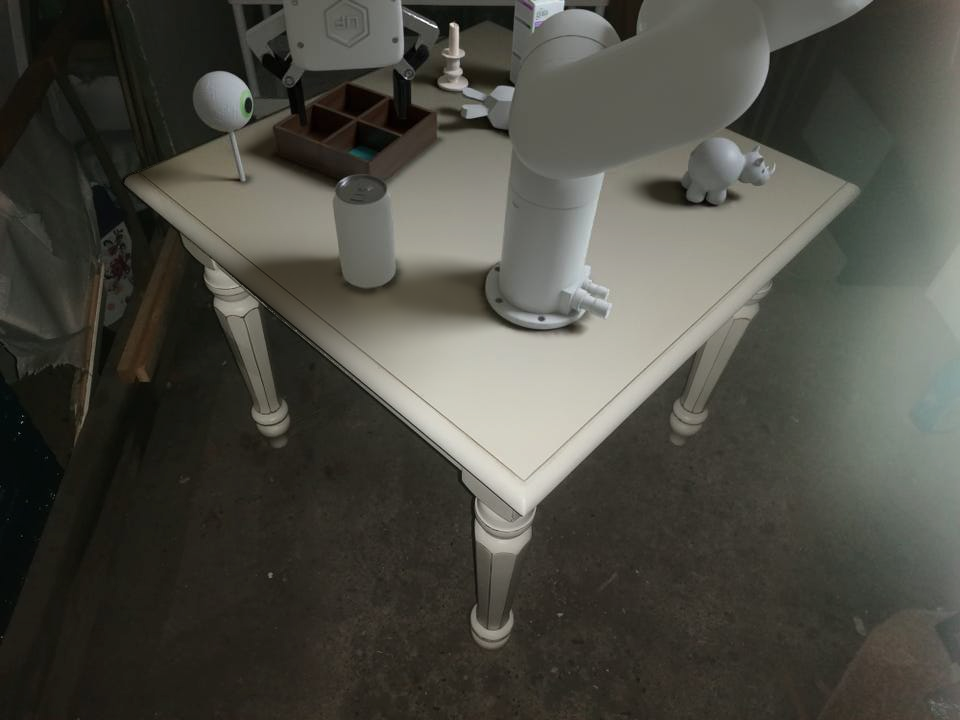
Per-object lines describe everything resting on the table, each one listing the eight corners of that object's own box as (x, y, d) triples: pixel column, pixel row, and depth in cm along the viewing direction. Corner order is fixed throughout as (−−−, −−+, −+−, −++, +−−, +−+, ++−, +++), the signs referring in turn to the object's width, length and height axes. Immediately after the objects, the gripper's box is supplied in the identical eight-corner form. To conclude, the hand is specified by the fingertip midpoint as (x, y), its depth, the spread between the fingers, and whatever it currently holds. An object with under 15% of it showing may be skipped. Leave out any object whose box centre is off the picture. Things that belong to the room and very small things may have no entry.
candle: (472, 81, 115) (475, 18, 108) (461, 94, 112) (463, 30, 104) (444, 74, 116) (445, 11, 109) (432, 87, 113) (432, 23, 105)
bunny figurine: (561, 117, 101) (463, 101, 99) (553, 147, 104) (458, 132, 103) (556, 87, 107) (464, 71, 105) (549, 116, 111) (459, 102, 109)
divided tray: (437, 139, 102) (437, 112, 99) (371, 192, 92) (369, 164, 89) (348, 107, 107) (346, 80, 104) (277, 154, 97) (272, 126, 94)
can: (401, 259, 83) (397, 176, 74) (387, 294, 79) (381, 210, 70) (351, 251, 84) (341, 168, 75) (335, 285, 79) (322, 201, 70)
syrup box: (525, 95, 113) (535, 4, 102) (508, 79, 116) (515, -10, 105) (553, 88, 115) (566, -1, 104) (535, 73, 118) (546, -15, 107)
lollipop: (256, 198, 90) (230, 91, 79) (206, 190, 91) (174, 83, 79) (277, 170, 95) (256, 65, 83) (230, 162, 95) (202, 57, 84)
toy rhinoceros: (767, 214, 94) (792, 161, 87) (682, 207, 94) (700, 153, 87) (756, 185, 98) (779, 132, 92) (675, 178, 98) (692, 125, 92)
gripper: (222, -65, 50) (264, 143, 62) (449, -69, 53) (445, 129, 66) (221, -96, 54) (260, 103, 67) (430, -98, 58) (429, 92, 71)
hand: (352, 116), depth 67 cm, fingers open, 9 cm apart
